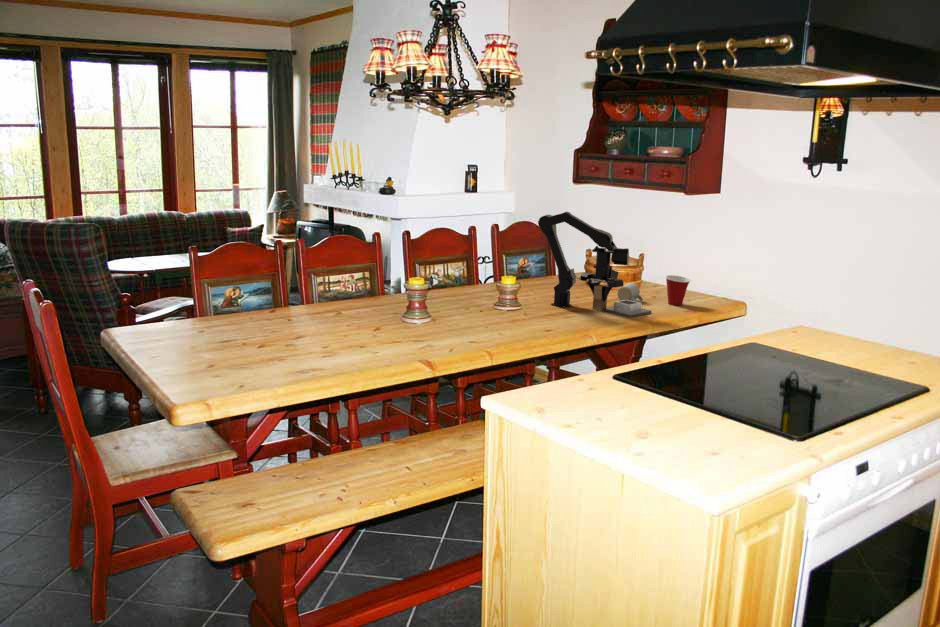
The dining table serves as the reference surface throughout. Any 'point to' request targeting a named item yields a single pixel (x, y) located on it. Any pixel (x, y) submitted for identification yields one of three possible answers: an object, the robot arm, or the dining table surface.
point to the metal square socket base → (627, 308)
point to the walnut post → (598, 299)
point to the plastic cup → (676, 289)
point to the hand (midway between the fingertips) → (600, 300)
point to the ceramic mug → (629, 292)
